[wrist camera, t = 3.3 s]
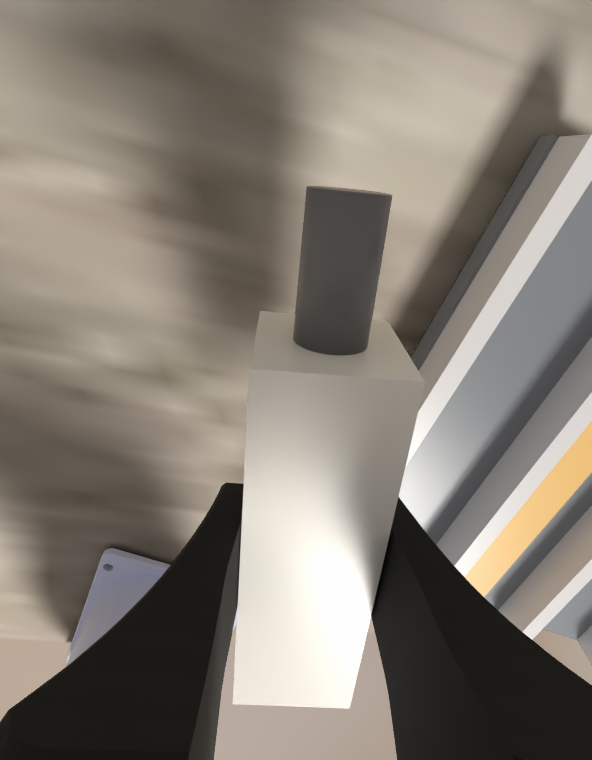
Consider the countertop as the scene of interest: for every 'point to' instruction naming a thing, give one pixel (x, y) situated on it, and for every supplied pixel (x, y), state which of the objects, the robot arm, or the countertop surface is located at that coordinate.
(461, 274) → the grey tray
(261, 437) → the white box with cylinder
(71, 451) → the countertop surface
